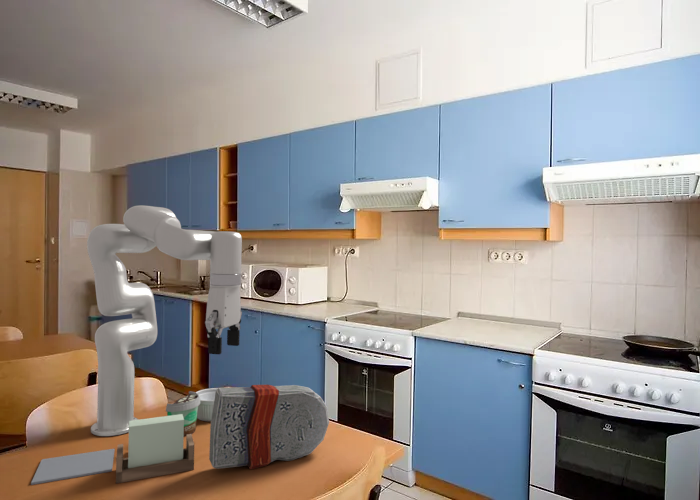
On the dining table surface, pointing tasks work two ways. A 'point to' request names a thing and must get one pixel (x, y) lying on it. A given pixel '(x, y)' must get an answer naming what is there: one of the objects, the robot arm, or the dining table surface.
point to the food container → (186, 411)
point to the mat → (74, 466)
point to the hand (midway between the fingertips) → (224, 349)
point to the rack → (154, 465)
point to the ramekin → (206, 404)
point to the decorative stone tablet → (265, 425)
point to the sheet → (155, 440)
